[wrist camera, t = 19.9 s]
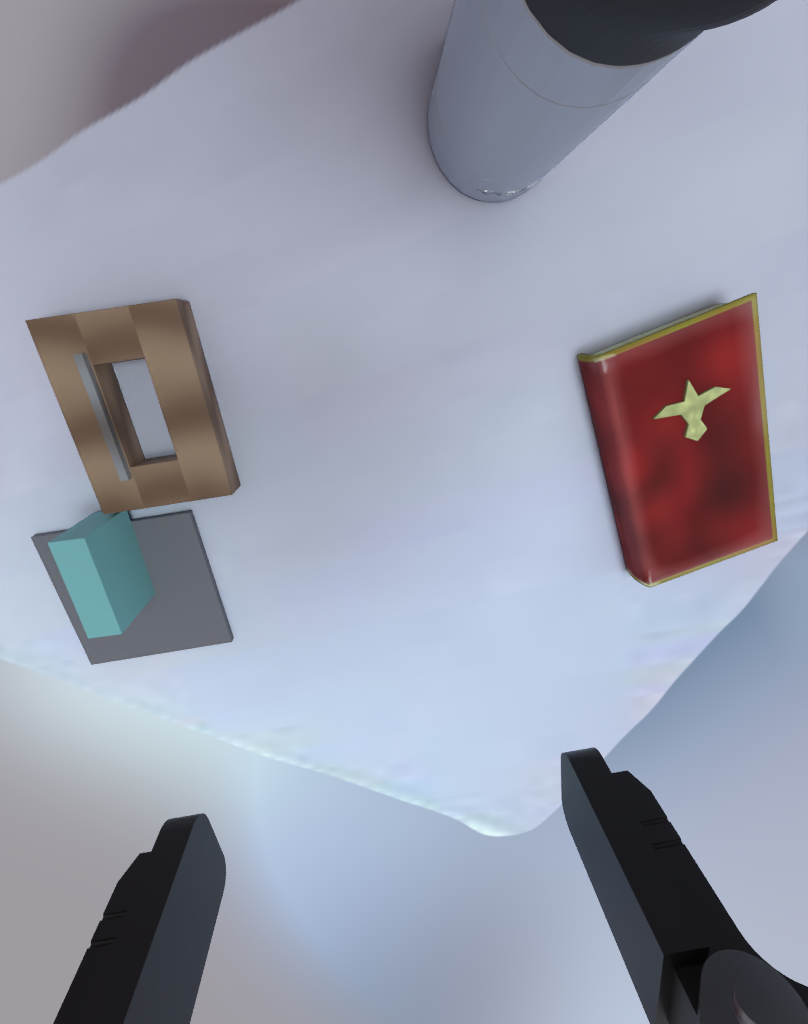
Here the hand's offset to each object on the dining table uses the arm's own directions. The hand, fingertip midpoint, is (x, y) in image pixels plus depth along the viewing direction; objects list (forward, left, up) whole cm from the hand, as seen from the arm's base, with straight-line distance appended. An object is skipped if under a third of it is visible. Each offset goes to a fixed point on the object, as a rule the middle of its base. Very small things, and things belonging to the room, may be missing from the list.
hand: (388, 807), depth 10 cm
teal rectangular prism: (+8, -22, -26) cm, 35 cm away
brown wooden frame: (-7, -16, -30) cm, 35 cm away
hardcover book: (+3, +26, -31) cm, 40 cm away
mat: (+8, -22, -30) cm, 38 cm away
